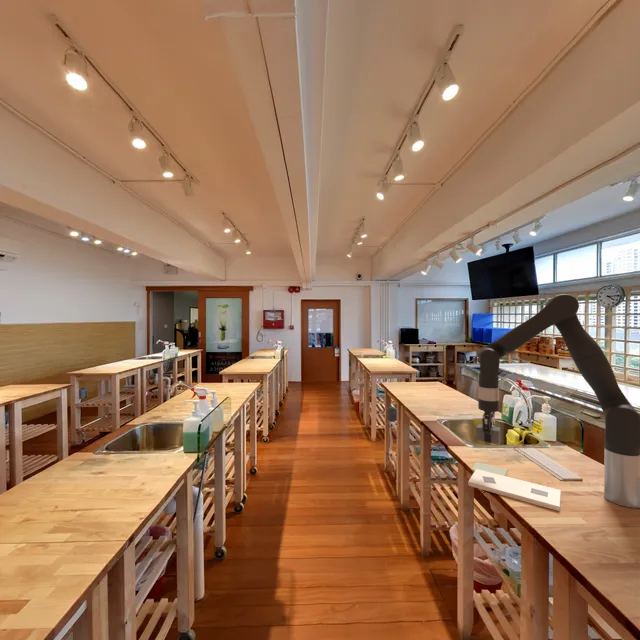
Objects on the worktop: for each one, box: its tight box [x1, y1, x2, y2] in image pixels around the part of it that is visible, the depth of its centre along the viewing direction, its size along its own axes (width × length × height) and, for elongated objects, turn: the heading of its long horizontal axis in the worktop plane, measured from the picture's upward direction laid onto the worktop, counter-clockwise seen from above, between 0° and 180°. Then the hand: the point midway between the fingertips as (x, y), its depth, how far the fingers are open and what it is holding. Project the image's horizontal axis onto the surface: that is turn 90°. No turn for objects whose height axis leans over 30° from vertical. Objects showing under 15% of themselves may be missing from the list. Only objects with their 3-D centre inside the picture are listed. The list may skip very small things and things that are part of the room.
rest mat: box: [471, 461, 508, 477], centre depth 138 cm, size 12×9×1 cm
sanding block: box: [475, 423, 501, 446], centre depth 134 cm, size 8×5×6 cm, turn 55°
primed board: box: [467, 469, 562, 512], centre depth 123 cm, size 28×13×2 cm, turn 53°
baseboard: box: [513, 444, 584, 482], centre depth 145 cm, size 30×3×10 cm
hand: (488, 440), depth 134 cm, fingers closed on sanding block, 5 cm apart
